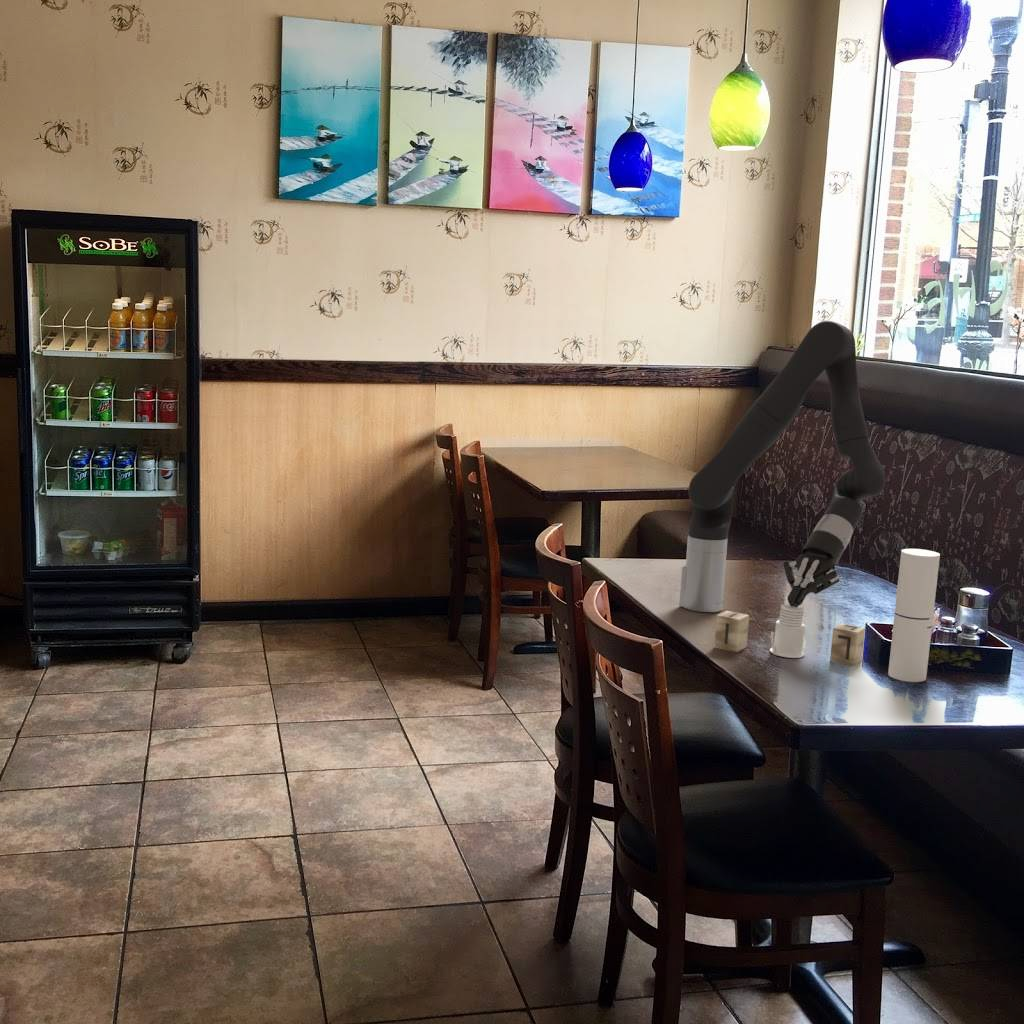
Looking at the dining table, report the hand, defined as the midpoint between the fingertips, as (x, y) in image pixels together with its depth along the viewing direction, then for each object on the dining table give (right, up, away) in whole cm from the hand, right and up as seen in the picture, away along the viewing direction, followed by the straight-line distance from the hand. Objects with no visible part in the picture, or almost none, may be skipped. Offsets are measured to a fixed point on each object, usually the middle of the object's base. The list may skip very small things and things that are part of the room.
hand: (792, 604), depth 244 cm
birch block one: (-12, -9, +5) cm, 16 cm away
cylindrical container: (+20, -14, -9) cm, 26 cm away
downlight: (-1, -11, +2) cm, 11 cm away
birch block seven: (+11, -11, -1) cm, 16 cm away
